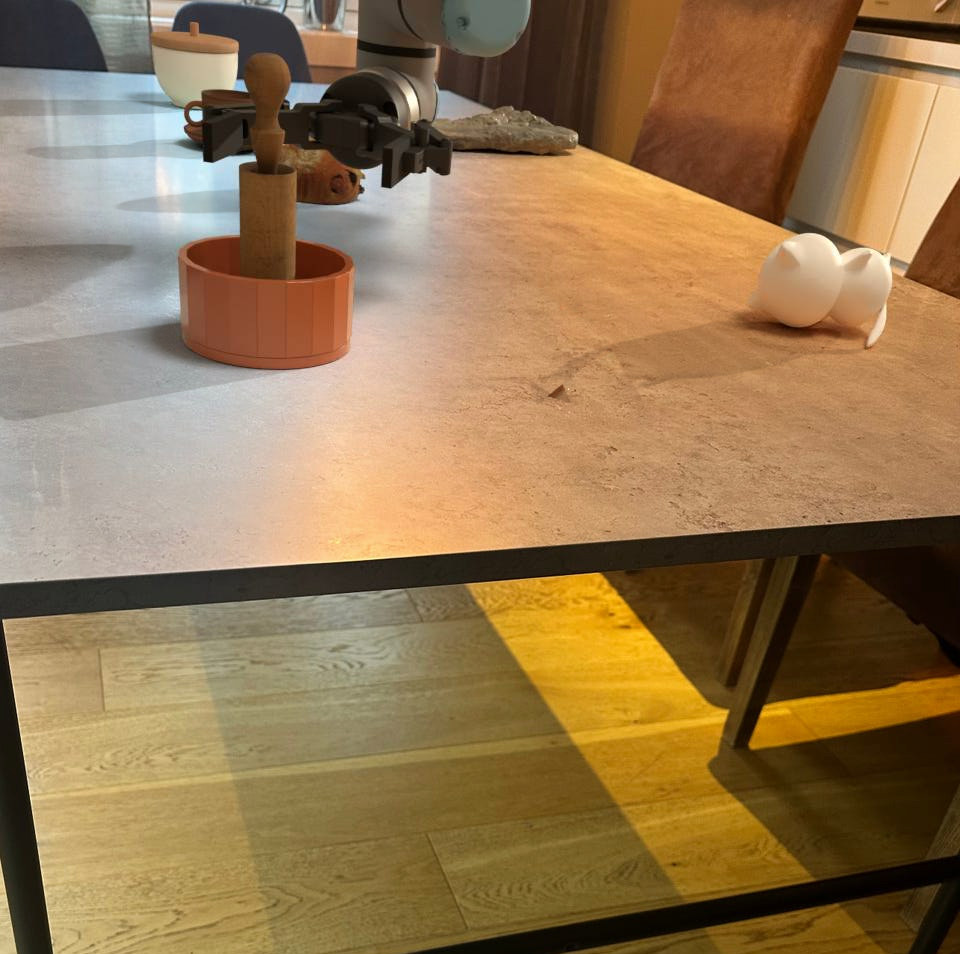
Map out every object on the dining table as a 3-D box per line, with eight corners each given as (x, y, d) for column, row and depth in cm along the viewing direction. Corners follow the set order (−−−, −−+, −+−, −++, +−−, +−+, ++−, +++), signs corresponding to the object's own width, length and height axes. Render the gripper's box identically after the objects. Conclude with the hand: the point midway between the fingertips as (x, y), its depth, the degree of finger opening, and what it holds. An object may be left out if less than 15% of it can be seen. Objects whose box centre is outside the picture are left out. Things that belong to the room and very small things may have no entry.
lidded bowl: (244, 104, 170) (243, 23, 164) (234, 116, 160) (232, 31, 154) (162, 95, 169) (157, 14, 163) (146, 107, 158) (141, 21, 152)
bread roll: (311, 214, 129) (285, 144, 126) (384, 189, 124) (360, 115, 121) (270, 230, 121) (242, 155, 118) (347, 203, 116) (320, 124, 113)
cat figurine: (904, 219, 95) (776, 204, 93) (929, 316, 91) (796, 302, 88) (854, 288, 103) (735, 276, 100) (875, 380, 98) (752, 369, 96)
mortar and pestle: (275, 350, 76) (274, 62, 66) (203, 328, 78) (192, 47, 68) (330, 329, 81) (338, 59, 71) (261, 309, 83) (259, 45, 74)
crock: (146, 342, 77) (140, 256, 74) (245, 304, 87) (244, 226, 83) (293, 382, 74) (294, 293, 70) (379, 337, 83) (384, 257, 80)
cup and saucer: (228, 159, 133) (227, 104, 130) (164, 140, 139) (161, 87, 135) (298, 152, 142) (299, 100, 138) (235, 135, 147) (234, 84, 144)
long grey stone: (339, 142, 158) (353, 160, 150) (338, 102, 154) (353, 119, 147) (562, 141, 167) (586, 158, 160) (566, 104, 164) (591, 119, 157)
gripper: (500, 182, 98) (458, 232, 80) (235, 144, 100) (137, 185, 82) (510, 90, 94) (468, 122, 76) (233, 53, 96) (130, 76, 78)
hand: (296, 155), depth 79 cm, fingers open, 13 cm apart
